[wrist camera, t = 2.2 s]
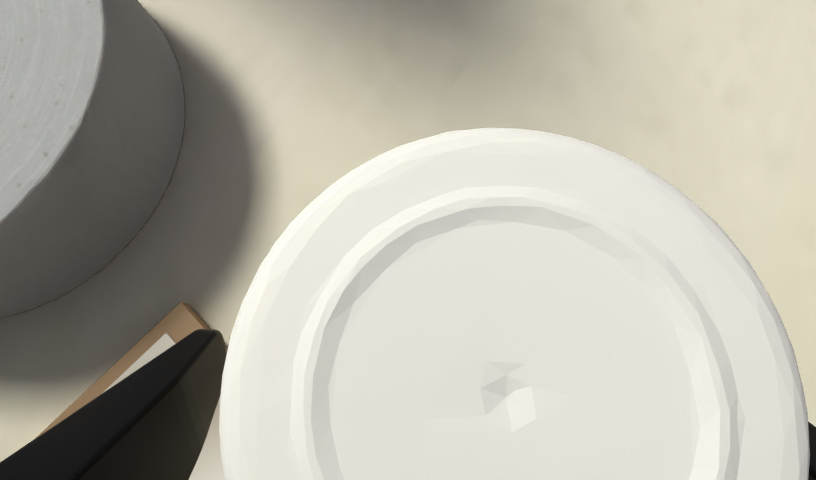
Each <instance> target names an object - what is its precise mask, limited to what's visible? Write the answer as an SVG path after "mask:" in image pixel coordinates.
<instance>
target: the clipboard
mask: <svg viewBox="0 0 816 480" xmlns="http://www.w3.org/2000/svg"><path fill="white" fill-rule="evenodd" d="M198 329H209V330H211V329H210V328H209V327H208V326H207V325H206V324H205V323H204V321H203V320H202V319H201V318H200V317H199V316H198V315H197V314H196V313H195V311H194V310H193V309H192V308H191V307H190V306H189V305H188V304H187V303H182V302H180V303H179V304H178V305H177V306H176V307H175V308H174V309H173V310H172V311H171V312H170V313H169V314H167V315H166V316H165V317H164V318H163V319H162V320H161V321H160V322H159V323H158V324H157V325H156V326H155V327H154V328H153V329H151V330H150V331H149V332H148V333H147V334H146V335H145V336H144V337H143V338H142V339H141V340H140V341H139V342H138V343H137V344H136V345H134V346H133V347H132V348H131V349H130V350H129V351H128V352H127V353H126V354H125V355H124V356H123V357H122V358H121V359H120V360H118V361H117V362H116V363H115V364H114V365H113V366H112V367H111V368H110V369H109V370H108V371H107V372H106V373H105V374H104V375H102V376H101V377H100V378H99V379H98V380H97V381H96V382H95V383H94V384H93V385H92V386H91V387H90V388H89V389H88V390H87V391H85V392H84V393H83V394H82V395H81V396H80V397H79V398H78V399H77V400H76V401H75V402H74V403H73V404H72V405H71V406H69V407H68V408H67V409H66V410H65V411H64V412H63V413H62V414H61V415H60V416H59V417H58V418H57V419H56V420H55V421H53V422H52V423H51V424H50V425H49V426H48V427H47V428H46V429H45V430H44V431H43V432H42V433H41V434H40V435H42V434H43V433H45V432H46V431H48V430H49V429H50V428H52V427H53V426H55V425H56V424H58V423H59V422H61V421H62V420H64V419H65V418H67V417H68V416H70V415H71V414H73V413H74V412H76V411H77V410H79V409H80V408H81V407H83V406H84V405H86V404H87V403H89V402H90V401H92V400H93V399H95V398H96V397H98V396H99V395H101V394H102V393H104V392H105V391H107V390H108V389H109V388H111V387H112V386H114V385H115V384H117V383H118V382H120V381H121V380H123V379H124V378H126V377H127V376H129V375H130V374H132V373H133V372H135V371H136V370H138V369H139V368H140V367H142V366H143V365H145V364H146V363H148V362H149V361H151V360H152V359H154V358H155V357H157V356H158V355H160V354H161V353H163V352H164V351H166V350H167V349H168V348H170V347H171V346H173V345H174V344H176V343H177V342H179V341H180V340H182V339H183V338H185V337H186V336H188V335H189V334H191V333H192V332H194V331H195V330H198ZM225 348H226V352H227V351H228V348H227V347H226V346H225ZM219 413H220V398H219V401H218V404H217V407H216V410H215V413H214V416H213V419H212V422H211V425H210V428H209V431H208V434H207V437H206V440H205V442H204V445H203V448H202V451H201V453H200V455H199V458H198V460H197V462H196V465H195V467H194V469H193V471H192V473H191V476H190V478H189V480H225V477H224V471H223V465H222V458H221V449H220V434H219ZM40 435H39V436H40ZM39 436H38V437H39ZM36 438H37V437H36ZM36 438H35V439H36Z"/></svg>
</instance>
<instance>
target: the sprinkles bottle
mask: <svg viewBox="0 0 816 480" xmlns="http://www.w3.org/2000/svg"><path fill="white" fill-rule="evenodd" d="M219 434H220V449H221V458H222V465H223V471H224V477H225V480H808V476H809V462H810V446H809V429H808V412H807V407H806V402H805V396H804V391H803V386H802V382H801V378H800V374H799V370H798V366H797V362H796V358H795V354H794V350H793V347H792V345H791V342H790V340H789V337H788V335H787V332H786V330H785V327H784V325H783V322H782V320H781V318H780V315H779V313H778V312H777V310H776V308H775V306H774V304H773V302H772V300H771V298H770V296H769V294H768V292H767V291H766V289H765V287H764V286H763V284H762V282H761V281H760V279H759V278H758V276H757V274H756V273H755V271H754V269H753V268H752V266H751V264H750V263H749V261H748V260H747V259H746V258H745V256H744V255H743V254H742V253H741V251H740V250H739V249H738V248H737V246H736V245H735V244H734V243H733V241H732V240H731V239H730V238H729V236H728V235H727V234H726V233H725V231H724V230H723V229H722V228H721V227H720V226H719V225H718V224H717V223H716V222H715V221H714V220H713V219H712V218H711V217H710V216H709V215H708V214H706V213H705V212H704V211H703V210H702V209H701V208H699V207H698V206H697V205H696V204H695V203H694V202H693V201H691V200H690V199H689V198H688V197H687V196H686V195H684V194H683V193H682V192H681V191H680V190H679V189H677V188H676V187H674V186H673V185H672V184H670V183H669V182H667V181H666V180H665V179H663V178H662V177H660V176H659V175H657V174H656V173H654V172H652V171H650V170H649V169H647V168H645V167H643V166H642V165H640V164H638V163H636V162H634V161H632V160H630V159H628V158H626V157H624V156H622V155H619V154H617V153H615V152H612V151H610V150H608V149H605V148H603V147H600V146H598V145H595V144H592V143H589V142H585V141H582V140H579V139H575V138H572V137H568V136H564V135H559V134H554V133H549V132H544V131H536V130H527V129H517V128H478V129H469V130H459V131H449V132H445V133H441V134H437V135H435V136H432V137H427V138H423V139H420V140H417V141H414V142H410V143H407V144H404V145H401V146H399V147H396V148H394V149H392V150H390V151H387V152H385V153H383V154H381V155H379V156H377V157H375V158H373V159H371V160H369V161H368V162H366V163H364V164H362V165H360V166H358V167H357V168H355V169H353V170H352V171H350V172H349V173H347V174H346V175H344V176H343V177H341V178H340V179H339V180H337V181H336V182H335V183H334V184H332V185H331V186H330V187H328V188H327V189H326V190H325V191H324V192H322V193H321V194H320V195H319V196H318V197H317V198H316V199H314V200H313V201H312V202H311V203H310V204H309V205H308V206H307V207H306V208H305V209H304V210H303V211H302V212H301V213H300V214H299V215H298V216H297V217H296V218H295V219H294V220H293V221H292V222H291V223H290V224H289V226H288V227H287V229H286V230H285V231H284V232H283V234H282V235H281V236H280V237H279V239H278V240H277V241H276V242H275V243H274V245H273V247H272V248H271V250H270V252H269V254H268V255H267V256H266V258H265V259H264V260H263V262H262V263H261V265H260V267H259V269H258V271H257V273H256V275H255V277H254V279H253V282H252V284H251V286H250V288H249V290H248V292H247V294H246V296H245V298H244V300H243V302H242V304H241V307H240V310H239V313H238V316H237V319H236V321H235V324H234V327H233V330H232V333H231V337H230V341H229V346H228V351H227V355H226V360H225V365H224V370H223V375H222V385H221V395H220V413H219Z"/></svg>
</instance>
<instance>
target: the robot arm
mask: <svg viewBox="0 0 816 480" xmlns="http://www.w3.org/2000/svg"><path fill="white" fill-rule="evenodd" d="M226 355H227V352H226V348H225V344H224V340H223V336H222V334H221V332H220V331H217V330H209V329H198V330H195V331H194V332H192V333H191V334H189V335H188V336H186V337H185V338H183V339H182V340H180V341H179V342H177V343H176V344H174V345H173V346H171V347H170V348H168V349H167V350H166V351H164V352H163V353H161V354H160V355H158V356H157V357H155V358H154V359H152V360H151V361H149V362H148V363H146V364H145V365H143V366H142V367H140V368H139V369H138V370H136V371H135V372H133V373H132V374H130V375H129V376H127V377H126V378H124V379H123V380H121V381H120V382H118V383H117V384H115V385H114V386H112V387H111V388H109V389H108V390H107V391H105V392H104V393H102V394H101V395H99V396H98V397H96V398H95V399H93V400H92V401H90V402H89V403H87V404H86V405H84V406H83V407H81V408H80V409H79V410H77V411H76V412H74V413H73V414H71V415H70V416H68V417H67V418H65V419H64V420H62V421H61V422H59V423H58V424H56V425H55V426H53V427H52V428H50V429H49V430H48V431H46V432H45V433H43V434H42V435H40V436H39V437H37V438H36V439H34V440H33V441H31V442H30V443H28V444H27V445H25V446H24V447H22V448H21V449H20V450H18V451H17V452H15V453H14V454H12V455H11V456H9V457H8V458H6V459H5V460H3V461H2V462H0V480H189V478H190V476H191V473H192V471H193V469H194V467H195V465H196V462H197V460H198V458H199V455H200V453H201V451H202V448H203V445H204V442H205V440H206V437H207V434H208V431H209V428H210V425H211V422H212V419H213V416H214V413H215V410H216V407H217V404H218V401H219V398H220V395H221V385H222V375H223V370H224V365H225V360H226ZM808 429H809V446H810V462H809V476H808V480H816V427H815V426H814V425H812V424H811V423H810V422H808Z"/></svg>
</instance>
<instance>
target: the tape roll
mask: <svg viewBox="0 0 816 480" xmlns="http://www.w3.org/2000/svg"><path fill="white" fill-rule="evenodd" d="M184 121H185V102H184V91H183V83H182V77H181V73H180V69H179V66H178V63H177V60H176V57H175V54H174V52H173V50H172V48H171V46H170V44H169V42H168V40H167V38H166V37H165V35H164V34H163V32H162V31H161V29H160V28H159V26H158V25H157V23H156V22H155V21H154V20H153V19H152V17H151V16H150V15H149V14H148V13H147V11H146V10H145V9H144V8H143V7H142V5H141V4H140V3H139V2H138V1H137V0H0V318H4V317H8V316H12V315H15V314H19V313H22V312H25V311H28V310H30V309H33V308H36V307H39V306H41V305H43V304H45V303H48V302H50V301H52V300H54V299H57V298H58V297H60V296H62V295H64V294H66V293H67V292H69V291H71V290H72V289H74V288H76V287H77V286H79V285H80V284H82V283H83V282H85V281H86V280H88V279H89V278H91V277H92V276H93V275H95V274H96V273H97V272H99V271H100V270H101V269H102V268H104V267H105V266H106V265H107V264H108V263H109V262H110V261H111V260H112V259H114V258H115V257H116V256H117V255H118V254H119V253H120V252H121V251H122V250H123V249H124V248H125V247H126V246H127V245H128V244H129V242H130V241H131V240H132V239H133V238H134V237H135V236H136V235H137V233H138V232H139V231H140V230H141V228H142V227H143V226H144V224H145V223H146V221H147V220H148V219H149V217H150V216H151V214H152V213H153V211H154V210H155V208H156V207H157V205H158V203H159V201H160V200H161V198H162V196H163V194H164V192H165V190H166V188H167V186H168V183H169V181H170V179H171V177H172V175H173V171H174V168H175V165H176V162H177V159H178V156H179V152H180V148H181V143H182V138H183V131H184Z"/></svg>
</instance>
